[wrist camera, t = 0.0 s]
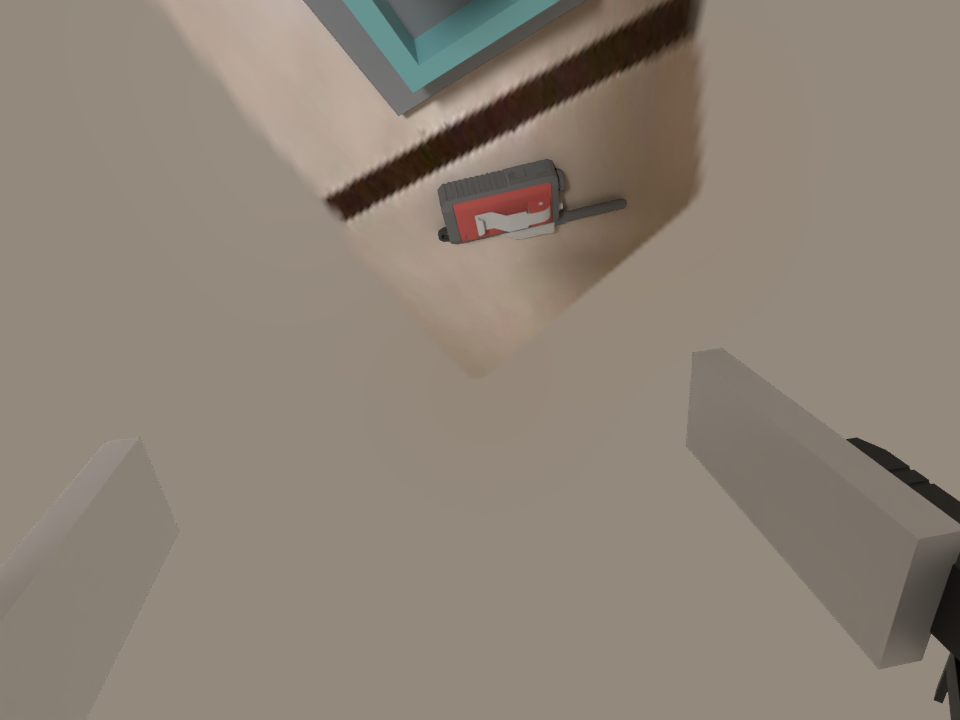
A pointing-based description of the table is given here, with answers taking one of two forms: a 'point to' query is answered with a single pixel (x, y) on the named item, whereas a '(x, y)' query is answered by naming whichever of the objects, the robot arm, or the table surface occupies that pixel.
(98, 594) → the robot arm
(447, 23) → the mug dock
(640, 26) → the table surface
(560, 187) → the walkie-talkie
